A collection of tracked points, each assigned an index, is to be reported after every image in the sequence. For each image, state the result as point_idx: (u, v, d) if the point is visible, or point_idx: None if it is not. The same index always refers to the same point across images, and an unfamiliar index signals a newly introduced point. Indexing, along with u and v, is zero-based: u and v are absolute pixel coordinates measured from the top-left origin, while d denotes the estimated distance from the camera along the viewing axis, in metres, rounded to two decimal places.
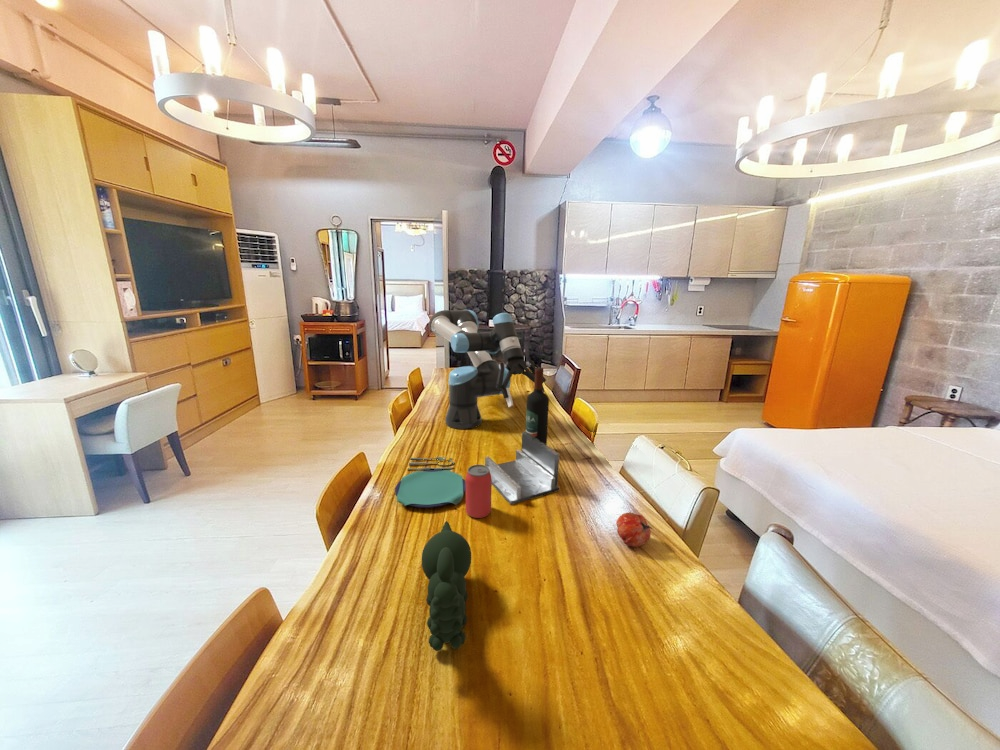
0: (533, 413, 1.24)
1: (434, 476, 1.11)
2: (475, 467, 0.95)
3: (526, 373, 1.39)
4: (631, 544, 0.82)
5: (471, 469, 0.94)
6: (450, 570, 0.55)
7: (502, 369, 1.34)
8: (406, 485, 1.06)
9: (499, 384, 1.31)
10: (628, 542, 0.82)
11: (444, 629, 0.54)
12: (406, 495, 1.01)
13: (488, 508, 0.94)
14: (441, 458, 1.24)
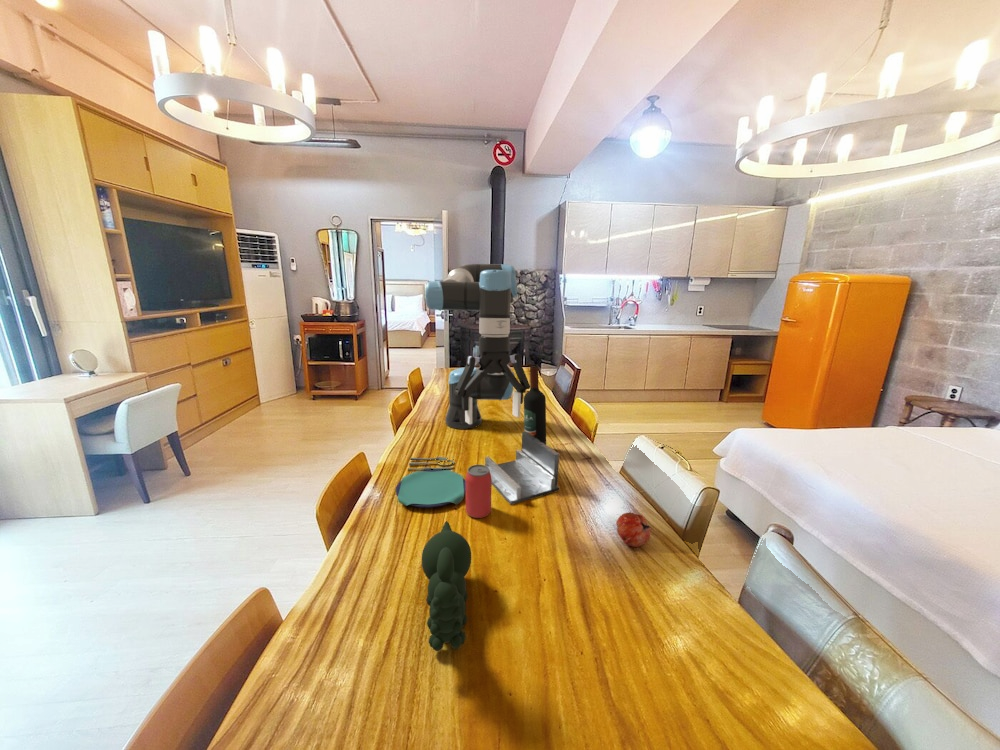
0: (531, 411, 1.25)
1: (434, 476, 1.11)
2: (475, 467, 0.95)
3: (505, 374, 0.93)
4: (631, 544, 0.82)
5: (471, 469, 0.94)
6: (450, 570, 0.55)
7: (471, 368, 0.87)
8: (407, 485, 1.06)
9: (460, 392, 0.87)
10: (628, 542, 0.82)
11: (444, 629, 0.54)
12: (407, 495, 1.01)
13: (488, 508, 0.94)
14: (441, 458, 1.24)
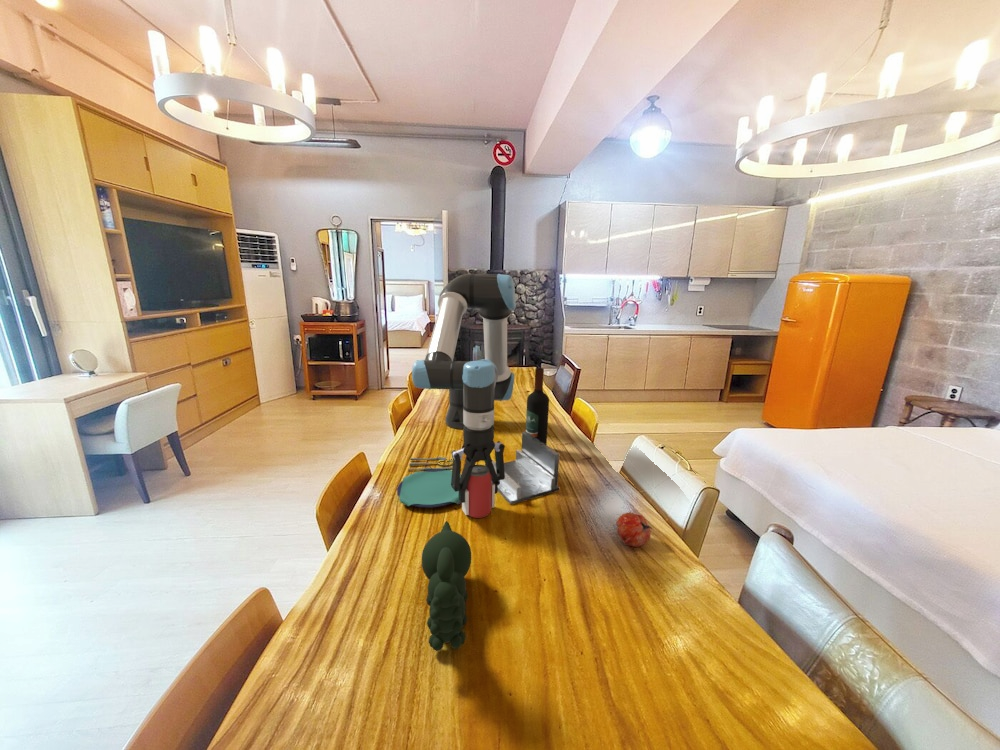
0: (534, 413, 1.24)
1: (435, 476, 1.11)
2: (475, 467, 0.95)
3: (486, 461, 0.93)
4: (631, 544, 0.82)
5: None
6: (450, 570, 0.55)
7: (458, 464, 0.89)
8: (408, 485, 1.05)
9: (456, 488, 0.90)
10: (628, 542, 0.82)
11: (444, 629, 0.54)
12: (408, 495, 1.00)
13: (488, 508, 0.94)
14: (441, 458, 1.24)
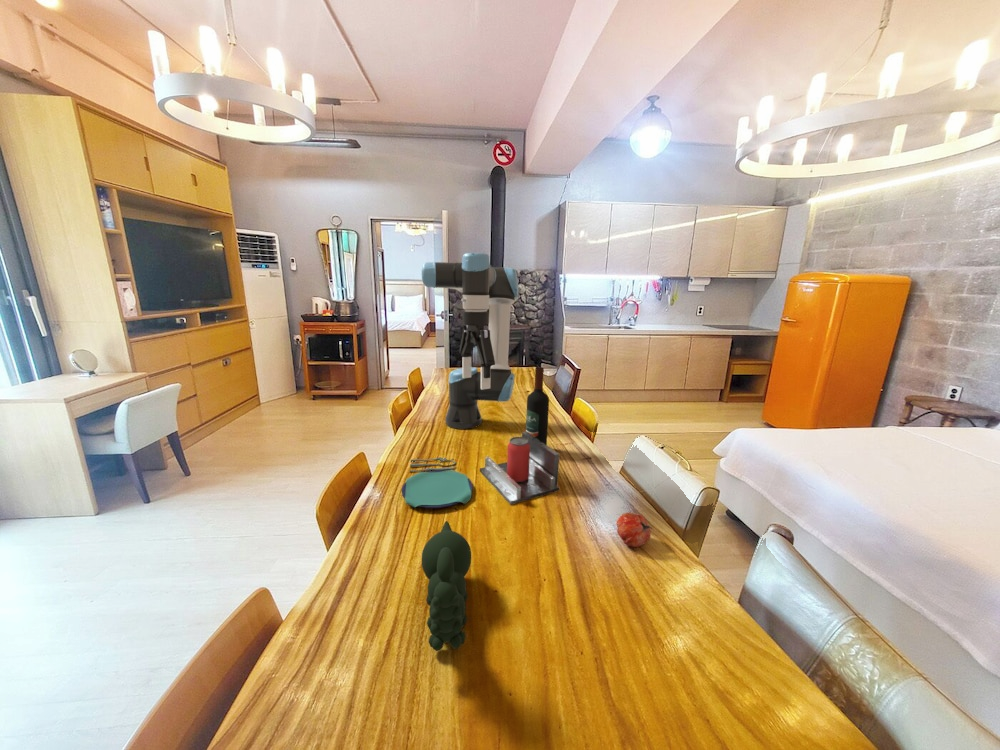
0: (534, 412, 1.24)
1: (438, 476, 1.11)
2: (524, 440, 1.09)
3: None
4: (631, 544, 0.82)
5: (520, 438, 1.10)
6: (450, 570, 0.55)
7: (463, 334, 1.12)
8: (412, 487, 1.05)
9: (459, 350, 1.15)
10: (628, 542, 0.82)
11: (444, 629, 0.54)
12: (414, 497, 1.00)
13: (511, 475, 1.08)
14: (442, 458, 1.23)
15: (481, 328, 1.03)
